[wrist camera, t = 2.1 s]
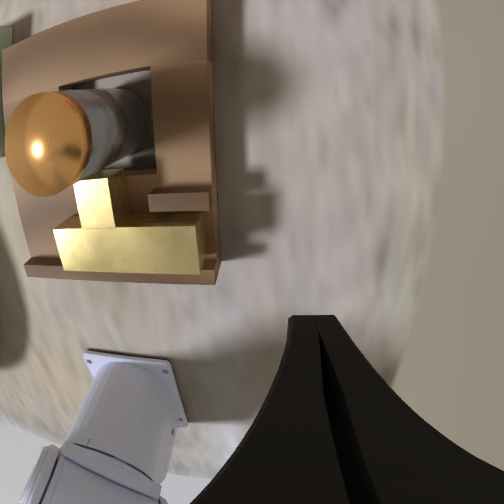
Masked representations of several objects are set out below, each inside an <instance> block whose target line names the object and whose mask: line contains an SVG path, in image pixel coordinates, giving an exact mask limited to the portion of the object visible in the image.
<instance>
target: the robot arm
mask: <svg viewBox="0 0 504 504" xmlns="http://www.w3.org/2000/svg"><path fill="white" fill-rule="evenodd" d="M83 358H84V360H85V362H86V364H87V366H88V368H89V370H90V372H91V374H92V376H93V378H94V379H93V381H92V383H91V385H90V387H89V389H88V391H87V393H86V395H85V398H84V400H83V402H82V404H81V406H80V408H79V410H78V412H77V415H76V417H75V419H74V421H73V423H72V426H71V428H70V430H69V432H68V435H67V437H66V439H65V441H64V444H63V445H62V446H61V448H60V449H59V448H58V447H56V446H55V445H53V444H52V445H51V446H50V447H49V446H46V447H43V448H42V450H41V452H40V454H39V456H38V458H37V460H36V463H35V465H34V467H33V469H32V472H31V474H30V476H29V479H28V481H27V484H26V486H25V489H24V491H23V494H22V497H21V499H20V503H19V504H168V503H167V501H166V500H165V499H164V498H163V497H161V496H160V491H161V485H160V484H161V483H162V482H163V480H164V479H165V477H166V474H167V471H168V466H169V462H170V457H171V453H172V448H173V444H174V439H175V435H176V430H177V427H187V426H188V421H187V418H186V415H185V411H184V408H183V405H182V402H181V398H180V395H179V391H178V388H177V384H176V381H175V377H174V373H173V370H172V366H171V364H170V363H169V362H168V361H166V360H159V359H149V358H139V357H131V356H123V355H115V354H108V353H101V352H94V351H88V350H85V351H84V353H83ZM190 504H504V471H502V470H500V469H498V468H496V467H494V466H492V465H490V464H489V463H487V462H485V461H483V460H481V459H479V458H477V457H475V456H474V455H472V454H470V453H469V452H467V451H466V450H464V449H463V448H461V447H459V446H458V445H456V444H455V443H453V442H452V441H451V440H449V439H448V438H446V437H445V436H444V435H442V434H441V433H440V432H439V431H437V430H436V429H435V428H433V427H432V426H431V425H430V424H428V423H427V422H426V421H424V420H423V419H422V418H421V417H420V416H419V415H418V414H416V413H415V412H414V411H413V410H412V409H411V408H410V407H409V406H408V405H407V404H406V403H405V402H404V401H403V400H402V399H401V398H400V397H399V396H398V395H397V394H396V393H395V392H394V391H393V390H392V389H391V388H390V387H389V385H388V384H387V383H386V382H385V381H384V380H383V379H382V378H381V376H380V375H379V374H378V373H377V372H376V370H375V369H374V368H373V367H372V366H371V364H370V363H369V362H368V360H367V359H366V358H365V357H364V355H363V354H362V353H361V352H360V350H359V349H358V348H357V346H356V345H355V344H354V342H353V341H352V339H351V338H350V337H349V335H348V334H347V332H346V331H345V329H344V328H343V327H342V325H341V324H340V322H339V321H338V319H337V318H336V317H335V316H334V315H292V316H291V317H290V318H288V330H287V342H286V346H285V350H284V353H283V356H282V359H281V363H280V366H279V369H278V371H277V374H276V376H275V379H274V381H273V383H272V386H271V388H270V391H269V393H268V395H267V397H266V399H265V401H264V403H263V405H262V407H261V409H260V411H259V413H258V414H257V416H256V418H255V420H254V422H253V423H252V425H251V427H250V428H249V430H248V431H247V433H246V435H245V436H244V438H243V439H242V441H241V442H240V444H239V445H238V447H237V448H236V450H235V451H234V453H233V454H232V455H231V457H230V458H229V459H228V460H227V462H226V463H225V464H224V466H223V467H222V468H221V469H220V471H219V472H218V473H217V474H216V476H215V477H214V478H213V479H212V481H211V482H210V483H209V484H208V485H207V486H206V487H205V488H204V489H203V491H202V492H201V493H200V494H199V495H198V496H197V497H196V498H195V499H194V500H193V501H192V502H191V503H190Z"/></svg>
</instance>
